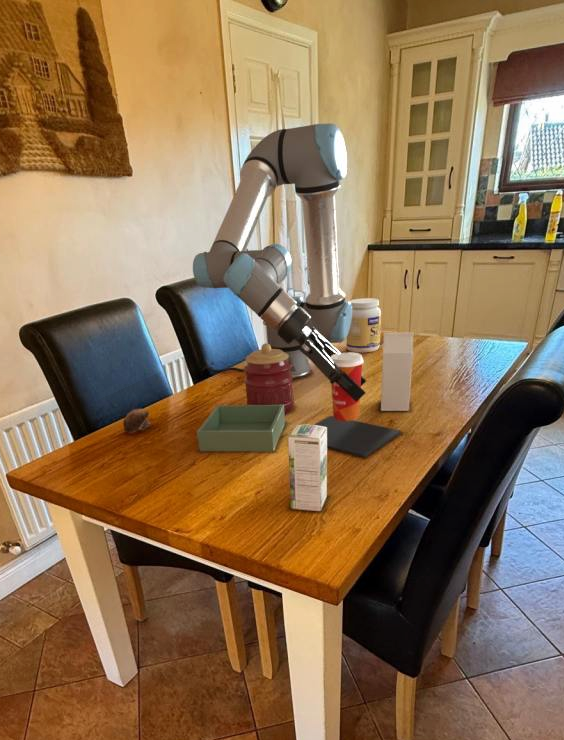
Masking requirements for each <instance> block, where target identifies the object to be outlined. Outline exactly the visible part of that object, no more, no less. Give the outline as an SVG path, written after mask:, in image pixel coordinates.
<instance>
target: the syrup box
mask: <svg viewBox="0 0 564 740" xmlns="http://www.w3.org/2000/svg"><path fill="white" fill-rule="evenodd" d="M287 441H288V445H287V446H288V468H289V469H288V470H289V492H290V495H289V496H290V509H292V510H303V511H314V512H321V511H322V509H323V507H324V504H325V502H326V500H327V497H328V448H327V427H324V426H318V425H314V424H296V425H295V427H294V428H293V430H292V431H291V433H290V434H289V436H288V438H287Z"/></svg>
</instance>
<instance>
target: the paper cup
mask: <svg viewBox="0 0 564 740" xmlns="http://www.w3.org/2000/svg"><path fill="white" fill-rule="evenodd" d="M340 353H341V354H339V353H337V354H334V355H332V356H331V357H330V358H331V359H332V360H333V361H334V363H335V364H336V365H337V366H338V367H339V369H340V370H341V371H342V372H345V373H346V374H347V375H348V376H349V377H350V378H351V379H352V380H353V381H354V382H355V383H356V384H358V385H359V386H360V387H361V388H362V386H361V376H362V371H363V364H364V362H365V361H364V358H363V355H362V354H361V353H357V352H351V351H348V352H340ZM333 373H334V372H333ZM330 386H331V399H332V414H333V416H334V418H335V419H336V420H339V421H352V420H353V421H356V420H357V419H358V417H359V411H360V399H359V400H358V401H357V402H356V401H355V400H354V399H353V398H352V397H351V396H350V395H349V394H348V393H346V392H345V391H344V390H343V389H342V388H341V387H340V386H339V385H338V384H337V383H336V382H334V383H333V384H331V383H330Z"/></svg>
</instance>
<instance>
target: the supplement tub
mask: <svg viewBox="0 0 564 740" xmlns="http://www.w3.org/2000/svg"><path fill="white" fill-rule="evenodd" d="M348 302H351V304H352V320H351V325H350V329H349V332H348V335H347V337H346V344H345V345H346V349H347V350H348V352H353V353H359V354H361V353H362V354H363V353H365V354H366V353H372V352H376V351H377V350H378V349H379V348H380V347H381V346H380V345H381V323H382V322H381V320H382V311H381V308H380V307H379V306H380V299H378V298H373V297H372V298H370V297H364V298H356V299H355V298H354V299H351V300H348Z"/></svg>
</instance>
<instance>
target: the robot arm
mask: <svg viewBox="0 0 564 740" xmlns="http://www.w3.org/2000/svg"><path fill="white" fill-rule="evenodd" d="M347 164H348V157H347V149H346V144H345V139H344V136H343V133H342V132H341V130H340V128H339V127H338V125H336V124H335V123H315V124H308V125H303V126H297V127H290V128H282V129H277V130H274V131H273V132H271V133H269V134H267V135H266V136H265V137H263V139H261V140H260V141H259V142H258V143H257V144H256V145H255V146H254V147H253V149H251V151H250V152H249V154H248V155H247V157H246V158H245V160H244V162H243V164H242V166H241V169H240V172H239V178H240V182H239V183H238V186H237V188H236V190H235V192H234V195H233V197H232V199H231V201H230V204H229V207H228V209H227V211H226V214H225V216H224V218H223V220H222V223H221V224H220V226H219V229H218V231H217V234H216V236H215V239H214V241H213V242H212V245H211V247H210V249H209V251H202V252H199V253H197V254H196V255H195V256H194V258H193V261H192V273H193V278H194V279H195V282H196V284H197V285H198V286H200V287H201V288H207V289H208V288H209V289H227V288H228V289H230V291H231V292H232V293H233V295H234V296H236V297H237V298H238V299H239V300H240V301H242V302H243V303H244V305H246V306H247V307H248V308H249V309H250V310H251V311H252V312H253V313H254V314H255V315H257V316H258V318H260V319H261V320H262V324H263V325H264V326H265V327H266V328H265V329H266V340H267V342H266V343H268V344H270V346H271V349H279V350H282V351H283V352H284V353H286V354H288V356H289V357H288V359H287V360H288V361H289V362H291V363H292V367H291V369H290V371H291V375H292V376H293V379H292V381H297V380H301V379H304V378H307V377H308V376H310V375H311V372H312V371H311V365H310V362H311V363H313V365H314V366H315V367H316V368H317V369H318V370H319V371H320V372H321V373H322V374H323V376H325V377H326V378H327V379H328V381H329V383H330V385H331V384H333V383H334V382H336V383H337V384H338V385H339V386H340V387H341V388H342V389H343V390H344V391H345V392H346V393H348V394H349V395H350V396H351V397H352V398H353V399H354V400H355V401H356V402H357V401H358V400H359V401H360V399H361V398H362V397H363V396H364V395H365V394H366V391H365V390H364V389H363V388H362V386H363V385H364V384H365V383H366V382H367V380H366V379H365V378H364V377H363V376H362V375H361V387H360V386H359V385H358V384H356V383H355V382H354V381H353V380H352V379H351V378H350V377H349V376H348V375H347V374H346V373H345V372H342V371H341V370H340V369H339V367H338V366H337V365H336V364H335V363H334V361H333V360H332V359H331V358H330V357H331V356H332V355H334V354H337V353H339V354H341V353H342V352H340V351H339V350H338V349H337V348H336V347H335V346H334V345H333V344H341V343H343V342H344V341H346V340H347V335H348V332H349V329H350V325H351V320H352V304H351V302H349V300H346V293H345V292H344V291H343V290H342V289H341V288H340V275H339V273H340V272H339V271H340V270H339V256H338V255H339V254H338V236H337V216H336V215H337V213H336V196H335V195H336V193H337V192H338V190H339V189H340V188H341V181H342V180H343V179H344V178H345V177H346V175H347V170H348V168H347ZM284 185H294V193H295V195H296V196H297V197H299V199H300V200H301V206H302V216H303V217H302V219H303V229H304V240H305V250H306V251H305V252H306V263H307V271H308V272H307V274H308V275H307V276H308V284H309V285H308V287H309V293H308V294H307V296H306V297H305V301H304V299H303V297H302V296H296V295H295V296H291V295H290V294H289V293H288V292H287V291H286V290H285V289H283V287H281V286H280V284H281V283H282V282H283V281H285V279H286V278H287V276H288V274H289V273H290V272H291V270H292V269H291V268H292V264H293V263H292V261H293V260H292V256H291V254H290V252H289V251H288V249H287V248H286V247H285V246H283V245H282V244H279V243H272V244H269V245H266V246H265V247H263V249H255V250H254V249H253V250H252V249H251V250H247V248H248V246H249V244H250V241H251V238H252V236H253V233H254V232H255V229H256V226H257V224H258V222H259V219H260V217H261V214H262V212H263V209H264V207H265V205H266V202H267V200H268V198H269V197H271V195H273V194H274V192H275V191H276V188H277V187H280V186H284ZM206 370H208V371H210V372H212V373H215V374H216V373H217V374H219V373H225V372H230V371H235V372H239V373H246V372H245V371H244V370H243V368H238V367H232V366H231V367H225V368H220V369H215V368H212V367H210V366H208V365H207V366H204V367H202V368H201V372H205V371H206ZM333 372H334V373H333Z"/></svg>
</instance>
